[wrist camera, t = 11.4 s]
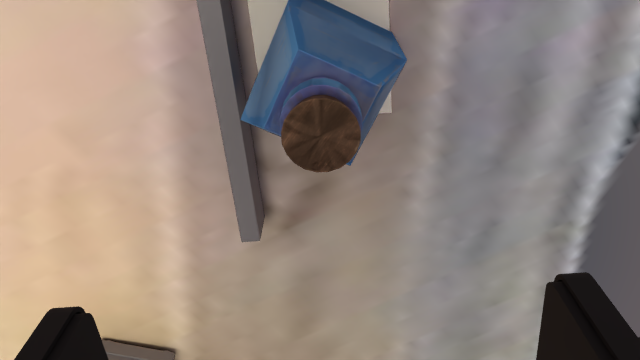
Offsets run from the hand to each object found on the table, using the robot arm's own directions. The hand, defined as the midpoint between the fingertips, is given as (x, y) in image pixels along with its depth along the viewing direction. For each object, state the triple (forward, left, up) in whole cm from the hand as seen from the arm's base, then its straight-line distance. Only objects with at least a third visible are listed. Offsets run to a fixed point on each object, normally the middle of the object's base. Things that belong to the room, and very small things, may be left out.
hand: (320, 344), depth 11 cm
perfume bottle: (0, 0, -23) cm, 23 cm away
